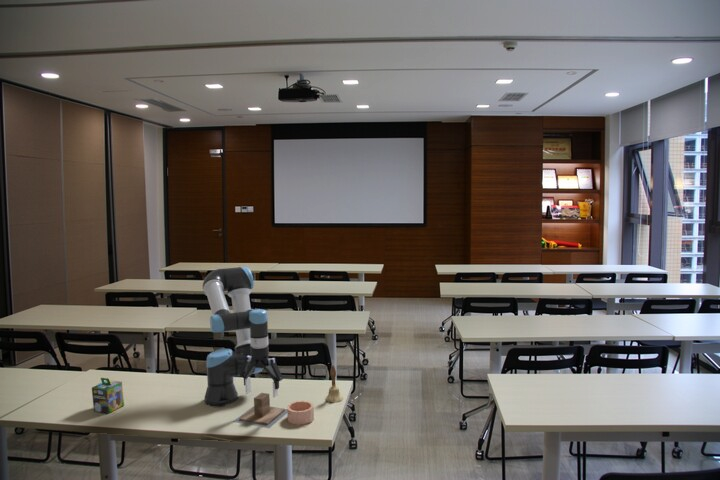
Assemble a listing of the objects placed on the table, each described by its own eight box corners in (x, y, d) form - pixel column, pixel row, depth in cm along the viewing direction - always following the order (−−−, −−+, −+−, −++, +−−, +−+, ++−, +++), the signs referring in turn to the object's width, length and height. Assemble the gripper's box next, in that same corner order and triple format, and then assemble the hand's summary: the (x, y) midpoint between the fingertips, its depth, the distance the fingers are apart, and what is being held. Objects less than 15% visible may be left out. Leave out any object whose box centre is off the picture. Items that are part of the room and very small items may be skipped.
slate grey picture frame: (232, 422, 210) (232, 421, 209) (256, 405, 226) (256, 404, 226) (269, 429, 203) (269, 428, 203) (290, 411, 220) (290, 409, 220)
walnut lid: (239, 420, 211) (238, 400, 210) (257, 406, 224) (256, 387, 223) (267, 425, 206) (267, 404, 205) (284, 411, 219) (284, 391, 218)
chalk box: (124, 405, 229) (122, 374, 228) (108, 414, 221) (106, 382, 219) (109, 403, 232) (106, 372, 231) (92, 411, 224) (90, 379, 222)
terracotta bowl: (282, 423, 208) (282, 409, 208) (295, 412, 218) (295, 399, 218) (306, 427, 204) (305, 413, 204) (317, 416, 215) (317, 402, 214)
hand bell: (328, 404, 226) (328, 370, 225) (322, 397, 234) (322, 364, 232) (345, 400, 230) (345, 367, 228) (339, 394, 237) (338, 361, 236)
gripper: (229, 346, 213) (232, 394, 214) (280, 351, 204) (282, 401, 205) (240, 341, 220) (242, 388, 221) (289, 346, 211) (291, 394, 212)
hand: (261, 394), depth 213 cm, fingers open, 13 cm apart
